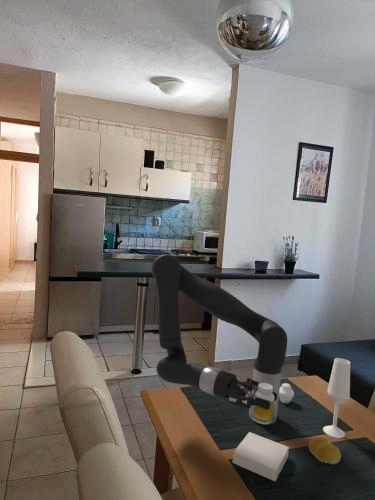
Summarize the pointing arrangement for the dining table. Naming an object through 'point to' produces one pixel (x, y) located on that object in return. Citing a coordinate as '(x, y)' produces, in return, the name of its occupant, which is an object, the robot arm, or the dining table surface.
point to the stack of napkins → (261, 456)
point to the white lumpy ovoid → (285, 393)
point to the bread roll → (324, 451)
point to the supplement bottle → (260, 413)
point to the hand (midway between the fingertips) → (273, 401)
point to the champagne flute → (338, 392)
